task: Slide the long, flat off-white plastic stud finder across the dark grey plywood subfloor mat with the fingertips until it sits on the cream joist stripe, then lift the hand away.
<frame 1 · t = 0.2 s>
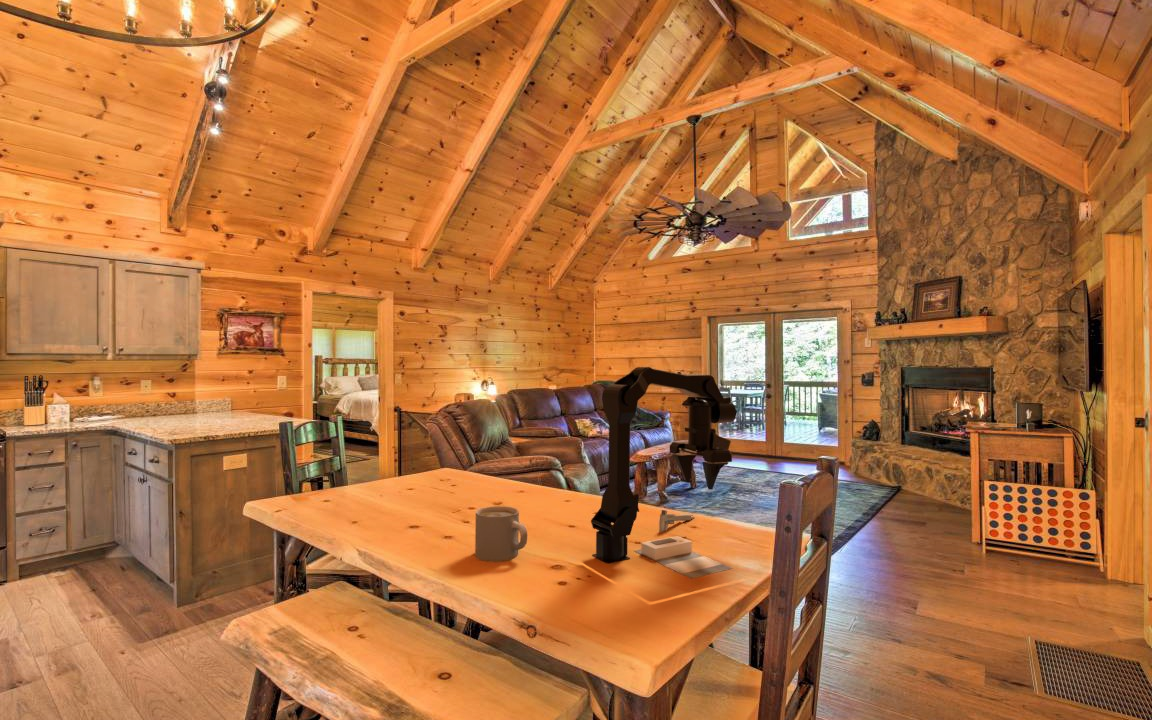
hand: (698, 485, 143), 14 cm above the table, fingers open, 9 cm apart
stud finder: (666, 552, 132), resting on subfloor panel
coffee mug: (501, 557, 131), on the table
subfloor panel: (680, 561, 128), on the table
caliper: (677, 527, 158), on the table
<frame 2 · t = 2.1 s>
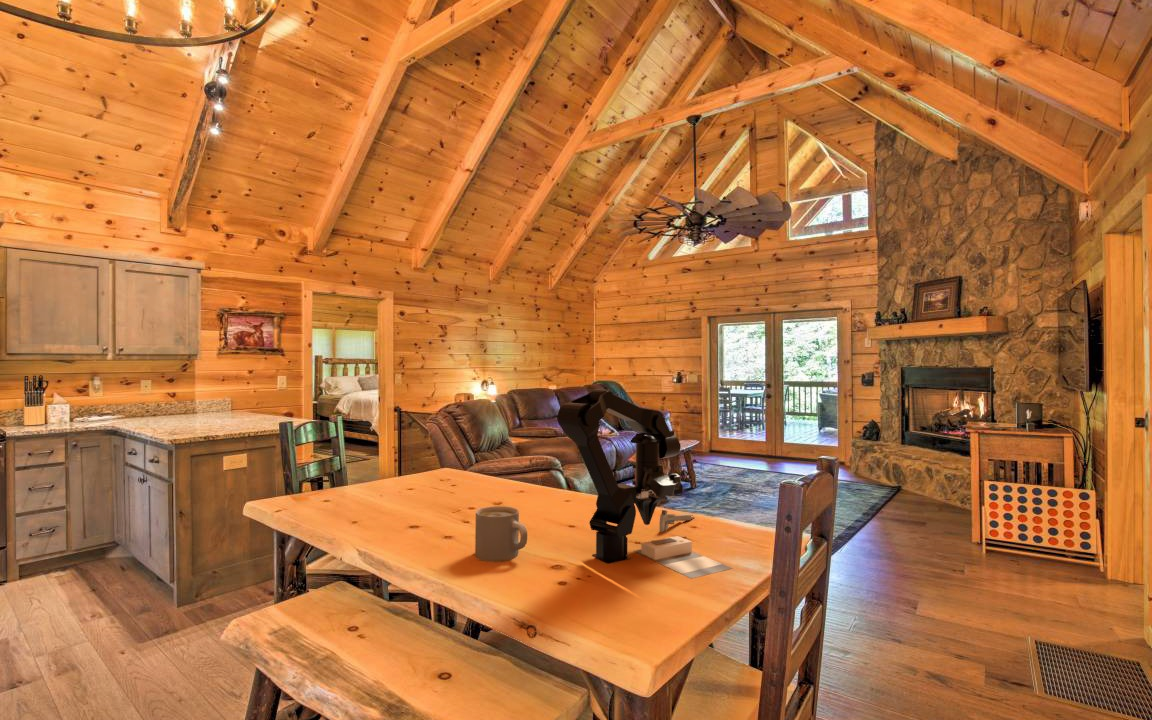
hand: (646, 524, 139), 5 cm above the table, fingers closed
nothing on the table moved.
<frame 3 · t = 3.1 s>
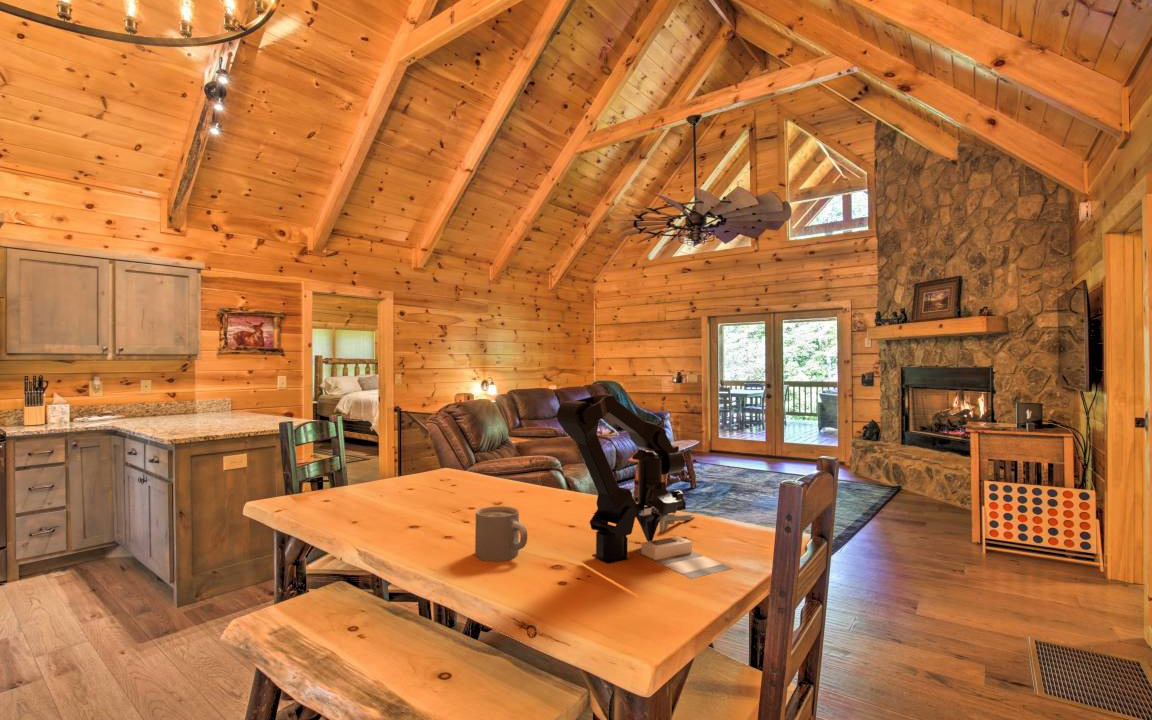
hand: (649, 541, 138), 1 cm above the table, fingers closed
nothing on the table moved.
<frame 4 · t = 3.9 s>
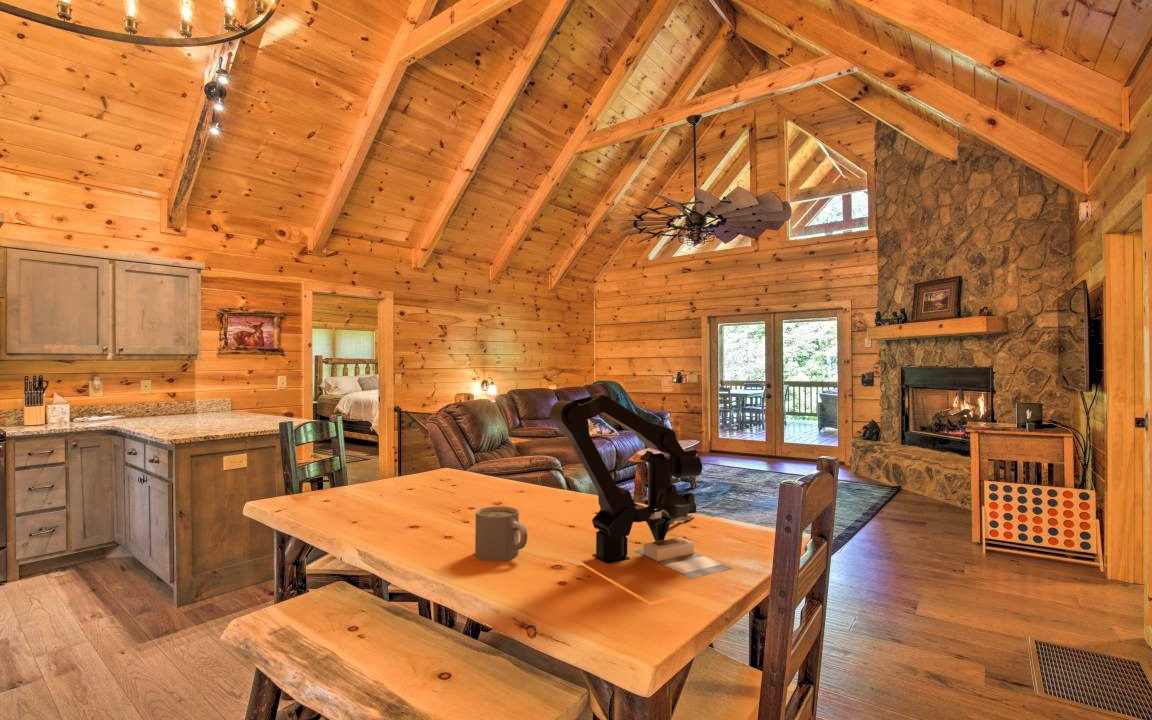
hand: (659, 545, 135), 2 cm above the table, fingers closed, pressing on stud finder
stud finder: (668, 553, 132), point 1 cm above the table, touching gripper
everything else where it was.
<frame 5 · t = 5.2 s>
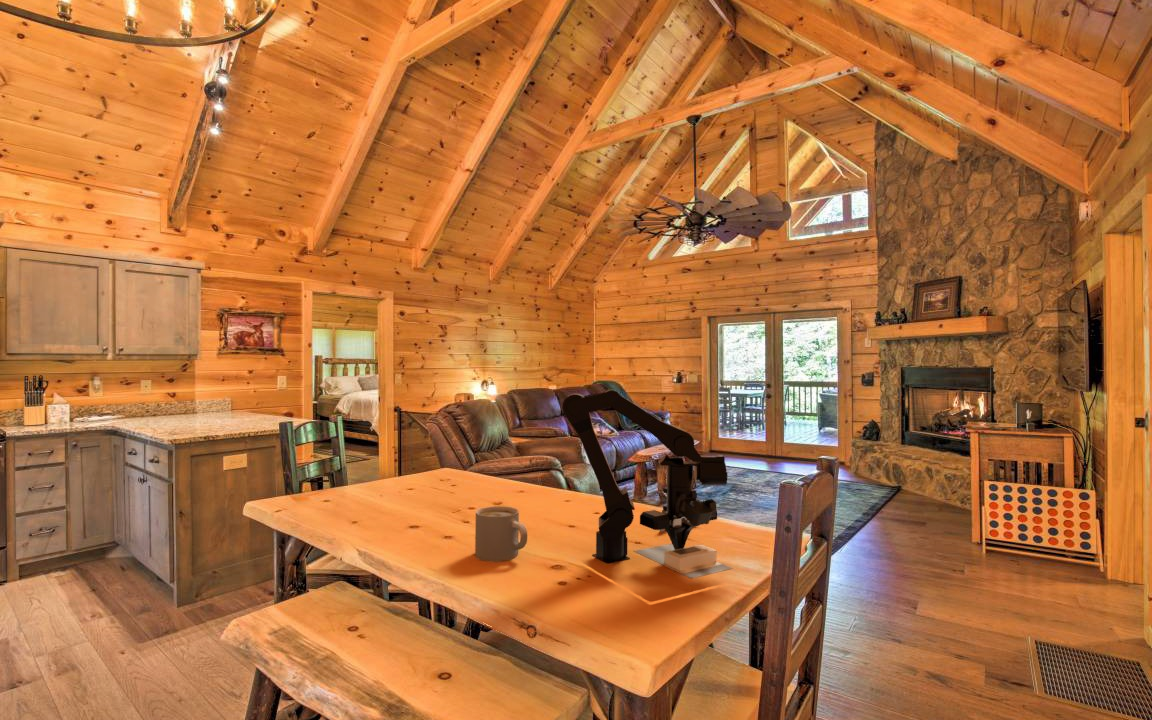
hand: (678, 553, 129), 2 cm above the table, fingers closed
stud finder: (690, 562, 126), point 1 cm above the table
everything else where it was.
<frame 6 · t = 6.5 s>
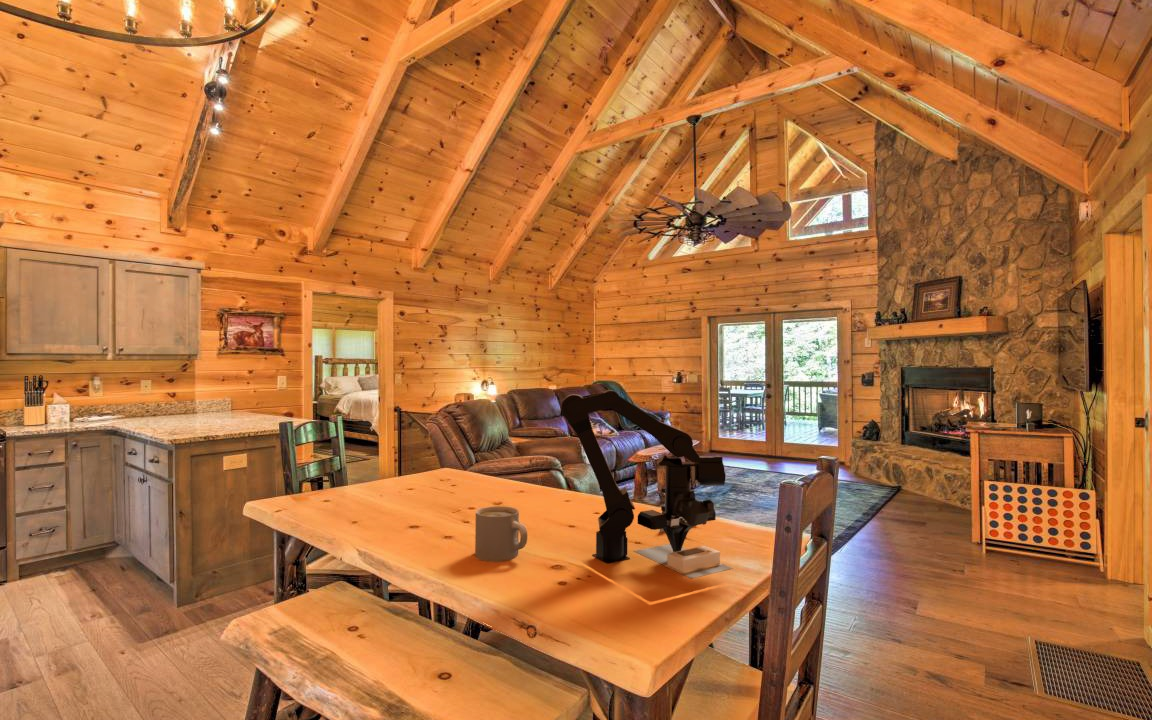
hand: (676, 553, 129), 1 cm above the table, fingers closed
stud finder: (693, 563, 125), point 1 cm above the table, touching subfloor panel
everything else where it was.
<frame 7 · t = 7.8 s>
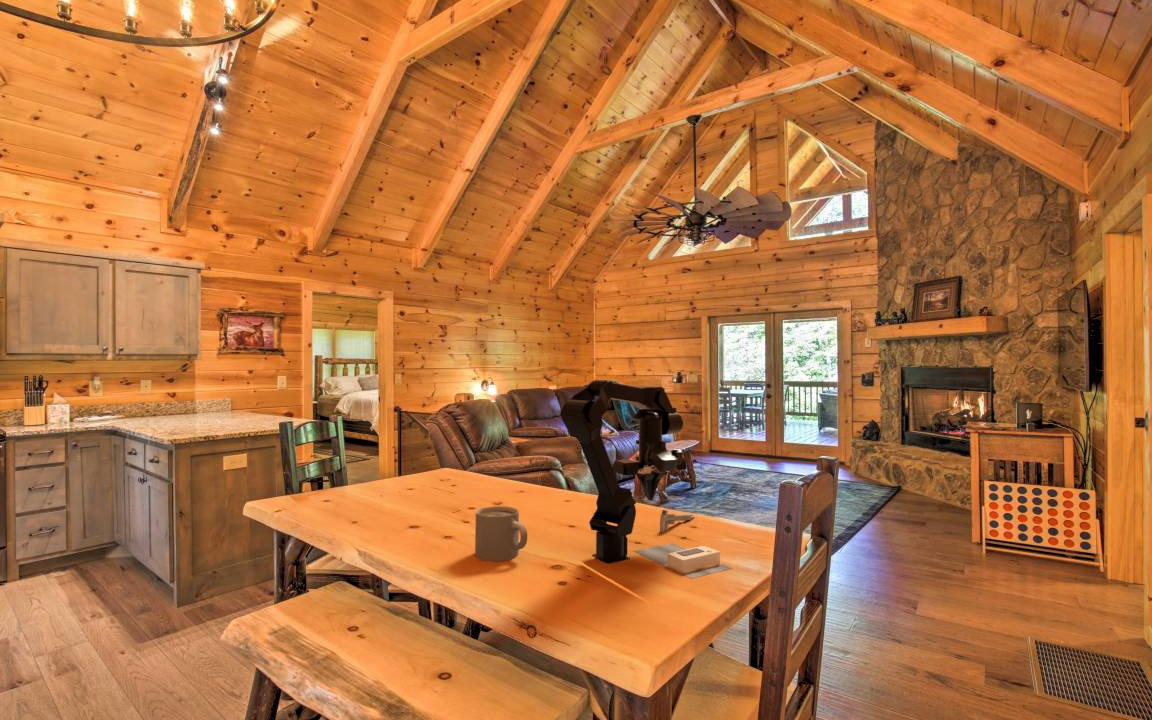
hand: (650, 500, 140), 11 cm above the table, fingers closed
nothing on the table moved.
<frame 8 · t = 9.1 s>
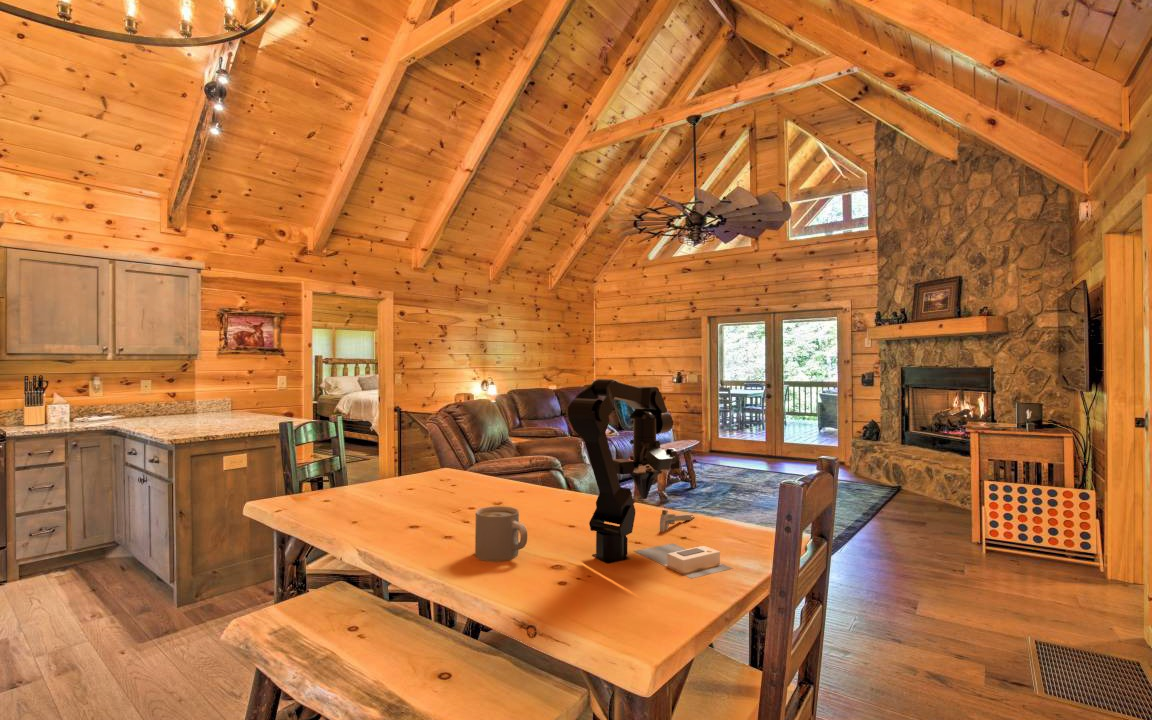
hand: (644, 498, 142), 11 cm above the table, fingers closed
nothing on the table moved.
at the end: stud finder 0.4 cm from the target spot on the subfloor panel, point 0.5 cm above the subfloor panel's base; stud finder tilted 0°; stud finder moved 8.8 cm from its start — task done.
